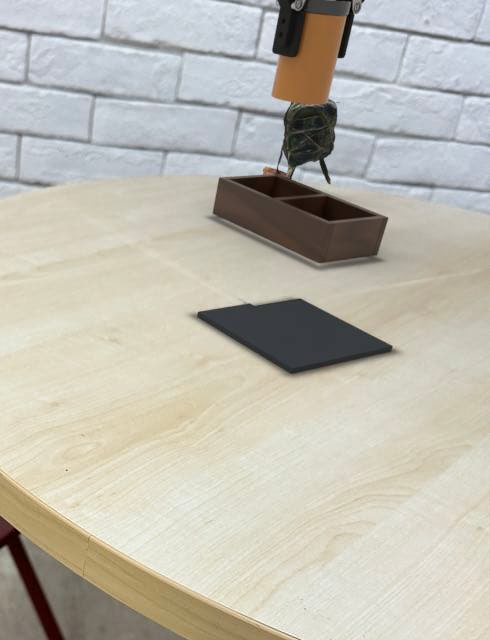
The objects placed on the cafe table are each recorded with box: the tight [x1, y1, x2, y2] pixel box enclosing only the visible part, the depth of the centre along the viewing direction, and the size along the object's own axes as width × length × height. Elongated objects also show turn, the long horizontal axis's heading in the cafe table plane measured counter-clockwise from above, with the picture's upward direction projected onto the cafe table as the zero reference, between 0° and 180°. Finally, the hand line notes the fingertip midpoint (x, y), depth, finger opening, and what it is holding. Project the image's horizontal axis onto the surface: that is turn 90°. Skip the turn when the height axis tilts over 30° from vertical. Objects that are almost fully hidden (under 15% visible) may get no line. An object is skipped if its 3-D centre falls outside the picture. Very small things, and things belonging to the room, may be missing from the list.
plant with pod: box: [262, 97, 340, 185], centre depth 107 cm, size 8×11×20 cm
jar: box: [270, 0, 351, 104], centre depth 88 cm, size 6×6×9 cm
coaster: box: [196, 297, 393, 374], centre depth 74 cm, size 12×12×1 cm
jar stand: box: [212, 174, 389, 264], centre depth 96 cm, size 9×18×5 cm, turn 33°
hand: (308, 54), depth 88 cm, fingers closed on jar, 6 cm apart
